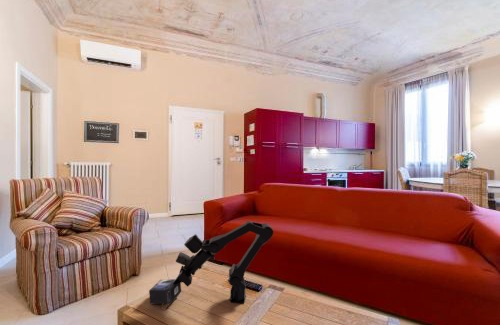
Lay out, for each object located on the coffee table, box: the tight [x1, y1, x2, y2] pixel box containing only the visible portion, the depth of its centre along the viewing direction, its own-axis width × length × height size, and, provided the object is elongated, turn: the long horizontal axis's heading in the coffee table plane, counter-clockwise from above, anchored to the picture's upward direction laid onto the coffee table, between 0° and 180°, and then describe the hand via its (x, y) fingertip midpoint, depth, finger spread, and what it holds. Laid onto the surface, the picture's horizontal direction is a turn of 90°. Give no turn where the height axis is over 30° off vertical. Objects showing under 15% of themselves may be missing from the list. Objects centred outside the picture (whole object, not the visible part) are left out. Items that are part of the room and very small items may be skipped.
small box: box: [148, 278, 182, 304], centre depth 117 cm, size 11×6×10 cm
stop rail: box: [161, 303, 171, 310], centre depth 117 cm, size 2×14×2 cm, turn 171°
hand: (174, 283), depth 116 cm, fingers closed, pressing on small box
